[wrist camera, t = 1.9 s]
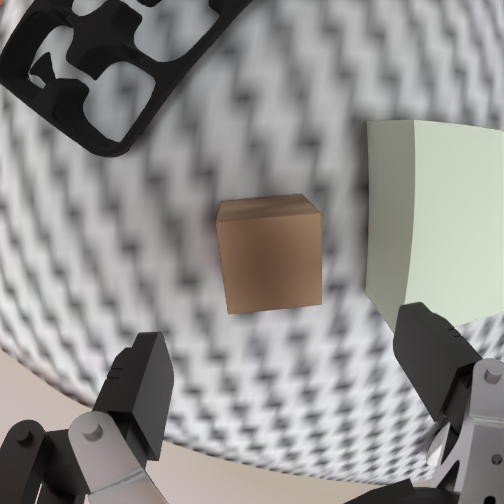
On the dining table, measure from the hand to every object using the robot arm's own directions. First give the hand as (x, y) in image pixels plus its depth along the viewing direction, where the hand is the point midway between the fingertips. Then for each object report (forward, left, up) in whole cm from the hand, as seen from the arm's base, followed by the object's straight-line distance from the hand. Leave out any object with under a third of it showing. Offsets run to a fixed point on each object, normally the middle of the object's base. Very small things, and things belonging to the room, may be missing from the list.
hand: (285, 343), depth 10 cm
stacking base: (-13, -1, -11) cm, 17 cm away
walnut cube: (0, 0, -11) cm, 11 cm away
